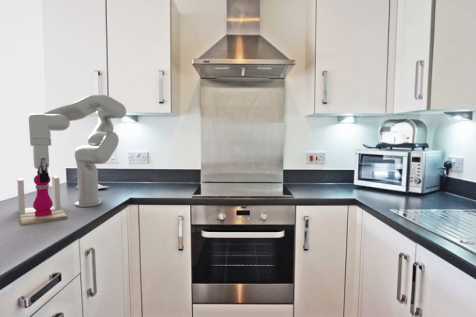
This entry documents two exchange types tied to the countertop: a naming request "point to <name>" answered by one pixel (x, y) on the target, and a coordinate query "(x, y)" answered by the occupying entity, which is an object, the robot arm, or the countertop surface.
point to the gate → (27, 210)
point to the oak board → (42, 217)
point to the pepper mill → (42, 198)
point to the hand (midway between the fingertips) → (43, 180)
